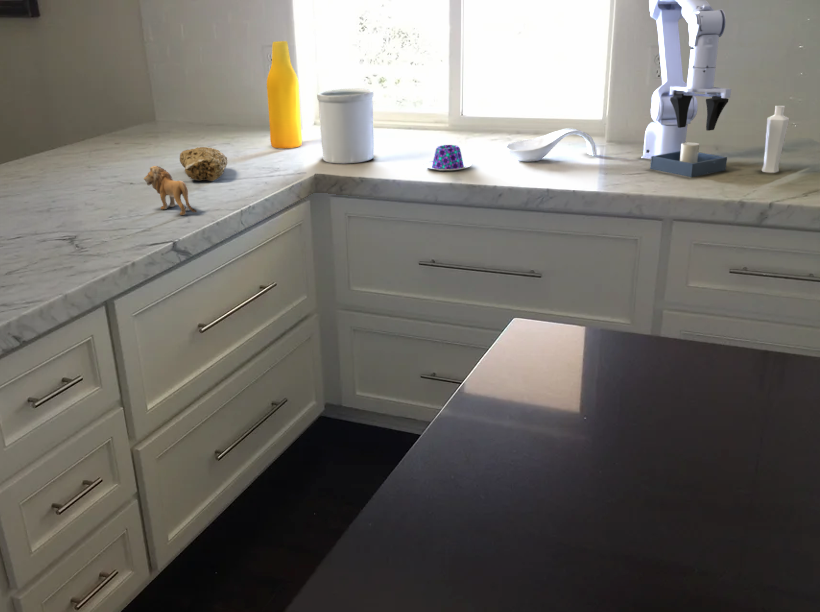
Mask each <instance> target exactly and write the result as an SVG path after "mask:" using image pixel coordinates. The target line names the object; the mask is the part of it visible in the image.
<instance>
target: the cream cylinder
mask: <svg viewBox="0 0 820 612" xmlns="http://www.w3.org/2000/svg"><path fill="white" fill-rule="evenodd" d="M699 152H700V143H698V142H694V141H693V142H690V141H689V142H687V141H686V143H682V144H681V152H680V161H682V162H688V163H697V161H698V153H699Z"/></svg>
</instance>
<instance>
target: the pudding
mask: <svg viewBox="0 0 820 612" xmlns="http://www.w3.org/2000/svg"><path fill="white" fill-rule="evenodd" d="M472 165H473V163H472V162H470V161H466V160H463V155H462V151H461V147H460V146H459V145H455V144H443V145H442V144H441V145H438V146H437V147H436V148H435V152H434V156H433V160H431V161H428V162H425V163H424V164H423V166H424V167H425V168H427V169H431V170H435V171H441V172H453V171H454V172H455V171H461V170H463V169H467V168H469V167H471V166H472Z"/></svg>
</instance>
